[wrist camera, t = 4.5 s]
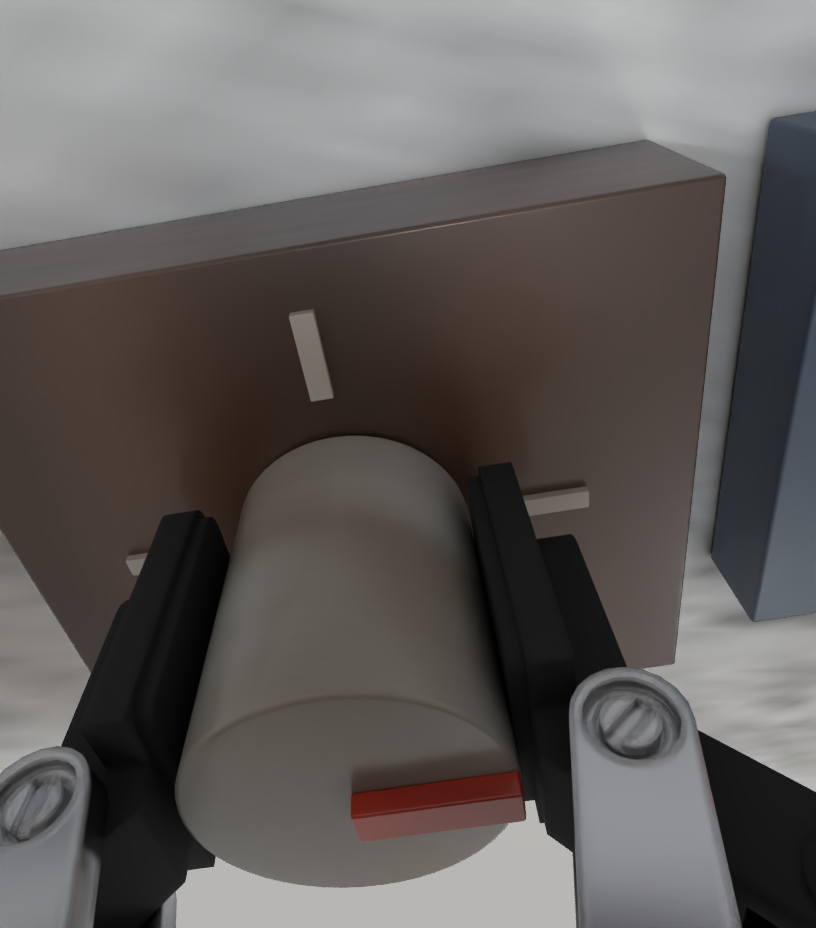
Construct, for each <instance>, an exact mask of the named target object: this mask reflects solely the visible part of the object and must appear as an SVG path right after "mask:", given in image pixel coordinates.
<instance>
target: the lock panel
mask: <svg viewBox="0 0 816 928" xmlns="http://www.w3.org/2000/svg"><path fill="white" fill-rule="evenodd" d="M725 185H726V176H725V174H723V173H721V172H719V171H716V170H714V169H712V168H710V167H708V166H705V165H703V164H701V163H699V162H696V161H694V160H692V159H690V158H688V157H685V156H683V155H681V154H679V153H676V152H674V151H672V150H670V149H668V148H665V147H663V146H661V145H659V144H656V143H654V142H652V141H650V140H644V141H638V142H632V143H626V144H620V145H614V146H609V147H603V148H597V149H591V150H585V151H579V152H573V153H568V154H562V155H556V156H550V157H544V158H538V159H533V160H527V161H521V162H515V163H509V164H503V165H497V166H492V167H486V168H480V169H474V170H468V171H462V172H457V173H451V174H445V175H439V176H433V177H427V178H421V179H416V180H410V181H404V182H398V183H392V184H386V185H381V186H375V187H369V188H363V189H357V190H351V191H345V192H340V193H334V194H328V195H322V196H316V197H310V198H305V199H299V200H293V201H287V202H281V203H275V204H269V205H264V206H258V207H252V208H246V209H240V210H234V211H228V212H223V213H217V214H211V215H205V216H199V217H193V218H188V219H182V220H176V221H170V222H164V223H158V224H152V225H147V226H141V227H135V228H129V229H123V230H117V231H112V232H106V233H100V234H94V235H88V236H82V237H76V238H71V239H65V240H59V241H53V242H47V243H41V244H36V245H30V246H24V247H18V248H12V249H6V250H0V529H1V531H2V533H3V534H4V536H5V537H6V539H7V540H8V542H9V544H10V545H11V547H12V548H13V550H14V552H15V553H16V555H17V556H18V558H19V560H20V561H21V563H22V564H23V566H24V567H25V569H26V571H27V572H28V574H29V575H30V577H31V579H32V580H33V582H34V583H35V585H36V586H37V588H38V590H39V591H40V593H41V594H42V596H43V598H44V599H45V601H46V602H47V604H48V605H49V607H50V609H51V610H52V612H53V613H54V615H55V617H56V618H57V620H58V621H59V623H60V625H61V626H62V628H63V629H64V631H65V632H66V634H67V636H68V637H69V639H70V640H71V642H72V644H73V645H74V647H75V648H76V650H77V651H78V653H79V655H80V656H81V658H82V659H83V661H84V663H85V664H86V666H87V667H88V669H89V671H90V672H91V673H92V670H93V668H94V665H95V663H96V661H97V658H98V656H99V653H100V651H101V649H102V646H103V644H104V641H105V639H106V636H107V634H108V632H109V629H110V627H111V624H112V622H113V619H114V617H115V615H116V612H117V610H118V609H119V607H120V605H121V604H122V603H124V602H125V601H126V600H129V599H130V596H131V594H132V591H133V589H134V586H135V584H136V581H137V579H138V576H139V574H140V571H141V569H142V566H143V564H144V561H145V559H146V556H147V554H148V551H149V549H150V546H151V544H152V541H153V539H154V536H155V534H156V531H157V529H158V526H159V524H160V521H161V519H162V518H163V516H165V515H169V514H175V513H182V512H188V511H195V510H199V511H201V512H202V513H203V514H204V516H205V518H206V517H214V519H215V520H216V522H217V524H218V526H219V529H220V531H221V534H222V536H223V539H224V541H225V544H226V547H227V549H228V552H229V554H230V557H231V552H232V548H233V544H234V540H235V536H236V532H237V528H238V524H239V520H240V516H241V512H242V508H243V504H244V501H245V499H246V496H247V494H248V492H249V490H250V489H251V487H252V485H253V484H254V482H255V481H256V479H257V478H258V477H259V476H260V475H261V474H262V472H263V471H264V470H265V469H266V468H268V467H269V466H270V465H271V464H272V463H273V462H275V461H276V460H277V459H279V458H280V457H282V456H283V455H285V454H287V453H288V452H290V451H292V450H294V449H296V448H298V447H300V446H302V445H305V444H308V443H311V442H314V441H317V440H322V439H326V438H331V437H339V436H371V437H379V438H384V439H388V440H392V441H396V442H399V443H402V444H404V445H407V446H410V447H412V448H414V449H416V450H418V451H420V452H421V453H423V454H425V455H426V456H428V457H429V458H431V459H432V460H434V461H435V462H436V463H438V464H439V465H440V466H441V467H442V468H443V469H444V470H445V471H446V472H447V473H448V474H449V475H450V476H451V478H452V479H453V480H454V481H455V483H456V484H457V486H458V488H459V489H460V491H461V493H462V495H463V497H464V500H465V502H466V505H467V510H468V515H469V519H470V524H471V529H472V521H471V513H470V505H469V497H468V489H467V480H466V478H467V477H473V476H478V467H480V466H487V465H494V464H500V463H507V462H511V463H512V465H513V468H514V471H515V474H516V477H517V480H518V483H519V486H520V489H521V492H522V496H523V499H524V502H525V505H526V508H527V511H528V514H529V517H530V520H531V523H532V526H533V529H534V532H535V536H536V539H540V538H547V537H554V536H561V535H567V534H572V535H573V536H574V537H575V539H576V541H577V543H578V545H579V548H580V550H581V553H582V555H583V558H584V560H585V563H586V565H587V568H588V570H589V573H590V575H591V578H592V580H593V583H594V585H595V588H596V590H597V593H598V595H599V598H600V600H601V603H602V605H603V608H604V610H605V613H606V615H607V618H608V620H609V623H610V625H611V628H612V630H613V633H614V635H615V638H616V640H617V643H618V645H619V648H620V650H621V653H622V655H623V658H624V660H625V663H626V665H627V667H628V668H635V669H642V668H650V667H657V666H664V665H671V664H674V662H675V652H676V643H677V634H678V624H679V615H680V606H681V596H682V587H683V578H684V568H685V559H686V550H687V540H688V531H689V522H690V512H691V503H692V493H693V484H694V475H695V465H696V456H697V447H698V437H699V428H700V419H701V409H702V400H703V391H704V381H705V372H706V363H707V353H708V344H709V334H710V325H711V316H712V306H713V297H714V288H715V278H716V269H717V260H718V250H719V241H720V232H721V222H722V213H723V203H724V194H725ZM472 534H473V529H472ZM473 539H474V537H473Z"/></svg>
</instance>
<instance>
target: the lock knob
mask: <svg viewBox="0 0 816 928" xmlns="http://www.w3.org/2000/svg"><path fill="white" fill-rule="evenodd" d="M522 784H523V776H522V771H521V766H520V761H519V756H518V751H517V747H516V742H515V737H514V732H513V727H512V723H511V718H510V713H509V708H508V703H507V698H506V694H505V689H504V684H503V679H502V674H501V669H500V665H499V660H498V655H497V650H496V645H495V640H494V636H493V631H492V626H491V621H490V616H489V611H488V607H487V602H486V597H485V592H484V587H483V582H482V578H481V573H480V568H479V563H478V558H477V553H476V549H475V544H474V539H473V534H472V529H471V524H470V519H469V515H468V510H467V505H466V502H465V500H464V497H463V495H462V493H461V491H460V489H459V488H458V486H457V484H456V483H455V481H454V480H453V479H452V478H451V476H450V475H449V474H448V473H447V472H446V471H445V470H444V469H443V468H442V467H441V466H440V465H439V464H438V463H436V462H435V461H434V460H432V459H431V458H429V457H428V456H426V455H425V454H423V453H421V452H420V451H418V450H416V449H414V448H412V447H410V446H407V445H404V444H402V443H399V442H396V441H392V440H388V439H384V438H379V437H371V436H339V437H331V438H326V439H322V440H317V441H314V442H311V443H308V444H305V445H302V446H300V447H298V448H296V449H294V450H292V451H290V452H288V453H287V454H285V455H283V456H282V457H280V458H279V459H277V460H276V461H275V462H273V463H272V464H271V465H270V466H269V467H268V468H266V469H265V470H264V471H263V472H262V474H261V475H260V476H259V477H258V478H257V479H256V481H255V482H254V484H253V485H252V487H251V489H250V490H249V492H248V494H247V496H246V499H245V501H244V504H243V508H242V512H241V516H240V520H239V524H238V528H237V532H236V536H235V540H234V544H233V548H232V552H231V557H230V561H229V565H228V569H227V573H226V577H225V581H224V585H223V589H222V593H221V597H220V601H219V605H218V609H217V613H216V617H215V621H214V625H213V630H212V634H211V638H210V642H209V646H208V650H207V654H206V658H205V662H204V666H203V670H202V674H201V678H200V682H199V686H198V690H197V694H196V699H195V703H194V707H193V711H192V715H191V719H190V723H189V727H188V731H187V735H186V739H185V743H184V747H183V751H182V755H181V759H180V763H179V768H178V772H177V776H176V781H175V801H176V805H177V809H178V813H179V816H180V818H181V820H182V822H183V824H184V826H185V827H186V829H187V830H188V831H189V832H190V834H191V835H192V836H193V838H194V839H195V840H196V841H198V842H199V843H200V844H201V845H202V846H203V847H204V848H205V849H207V850H208V851H209V852H211V853H212V854H214V855H215V856H216V857H218V858H220V859H222V860H224V861H225V862H227V863H229V864H231V865H233V866H235V867H237V868H240V869H242V870H245V871H247V872H250V873H253V874H256V875H259V876H262V877H265V878H269V879H273V880H277V881H282V882H287V883H293V884H299V885H307V886H317V887H341V888H342V887H365V886H375V885H384V884H389V883H396V882H401V881H406V880H410V879H414V878H418V877H422V876H425V875H428V874H431V873H435V872H437V871H440V870H442V869H445V868H447V867H450V866H452V865H454V864H457V863H459V862H460V861H463V860H465V859H467V858H468V857H470V856H472V855H473V854H475V853H477V852H478V851H480V850H481V849H483V848H484V847H485V846H486V845H488V844H489V843H490V842H492V841H493V840H494V839H495V838H496V837H497V836H498V835H499V834H500V833H501V832H502V831H503V830H504V829H505V828H506V826H507V825H508V823H512V822H519V821H524V820H526V811H525V800H524V792H523V787H522Z"/></svg>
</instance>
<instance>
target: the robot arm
mask: <svg viewBox="0 0 816 928" xmlns="http://www.w3.org/2000/svg"><path fill="white" fill-rule="evenodd" d="M466 480H467V489H468V497H469V505H470V513H471V521H472V529H473V537H474V544H475V549H476V553H477V558H478V563H479V568H480V573H481V578H482V582H483V587H484V592H485V597H486V602H487V607H488V611H489V616H490V621H491V626H492V631H493V636H494V640H495V645H496V650H497V655H498V660H499V665H500V669H501V674H502V679H503V684H504V689H505V694H506V698H507V703H508V708H509V713H510V718H511V723H512V727H513V732H514V737H515V742H516V747H517V751H518V756H519V761H520V766H521V771H522V776H523V784H522V787H523V792H524V800H525V801H530V800H535V803H536V807H537V811H538V816H539V821H540V823H545V826H546V830H547V834H548V835H549V836H551V837H552V838H554V839H555V840H556V841H558V842H559V843H560V844H562V845H563V846H565V847H566V848H568V849H569V850H570V851H572V852H573V870H574V891H575V911H576V928H816V792H814V791H812V790H811V789H809V788H807V787H805V786H803V785H801V784H799V783H797V782H795V781H793V780H792V779H790V778H788V777H786V776H784V775H782V774H780V773H778V772H776V771H774V770H773V769H771V768H769V767H767V766H765V765H763V764H761V763H759V762H757V761H755V760H754V759H752V758H750V757H748V756H746V755H744V754H742V753H740V752H738V751H736V750H735V749H733V748H731V747H729V746H727V745H725V744H723V743H721V742H719V741H717V740H716V739H714V738H712V737H710V736H708V735H706V734H704V733H702V732H700V731H698V730H697V726H696V721H695V717H694V715H693V713H692V710H691V708H690V705H689V703H688V701H687V700H686V699H685V698H684V696H683V695H682V694H681V693H680V692H679V691H678V689H677V688H676V687H674V686H673V685H672V684H670V683H669V682H667V681H666V680H664V679H663V678H662V677H660V676H658V675H655V674H652V673H650V672H647V671H645V670H642V669H635V668H628V667H627V665H626V663H625V660H624V658H623V655H622V653H621V650H620V648H619V645H618V643H617V640H616V638H615V635H614V633H613V630H612V628H611V625H610V623H609V620H608V618H607V615H606V613H605V610H604V608H603V605H602V603H601V600H600V598H599V595H598V593H597V590H596V588H595V585H594V583H593V580H592V578H591V575H590V573H589V570H588V568H587V565H586V563H585V560H584V558H583V555H582V553H581V550H580V548H579V545H578V543H577V541H576V539H575V537H574V536H573V535H572V534H567V535H561V536H554V537H547V538H540V539H536V536H535V532H534V529H533V526H532V523H531V520H530V517H529V514H528V511H527V508H526V505H525V502H524V499H523V496H522V492H521V489H520V486H519V483H518V480H517V477H516V474H515V471H514V468H513V465H512V463H511V462H507V463H500V464H494V465H487V466H480V467H478V476H473V477H467V478H466ZM229 561H230V554H229V552H228V549H227V547H226V544H225V541H224V539H223V536H222V534H221V531H220V529H219V526H218V524H217V522H216V520H215V519H214V517H206V518H205V516H204V514H203V513H202V512H201V511H199V510H195V511H188V512H182V513H175V514H169V515H165V516H163V518H162V519H161V521H160V524H159V526H158V529H157V531H156V534H155V536H154V539H153V541H152V544H151V546H150V549H149V551H148V554H147V556H146V559H145V561H144V564H143V566H142V569H141V571H140V574H139V576H138V579H137V581H136V584H135V586H134V589H133V591H132V594H131V596H130V599H129V600H126V601H125V602H124V603H122V604H121V605H120V607H119V609H118V610H117V612H116V615H115V617H114V619H113V622H112V624H111V627H110V629H109V632H108V634H107V636H106V639H105V641H104V644H103V646H102V649H101V651H100V653H99V656H98V658H97V661H96V663H95V665H94V668H93V670H92V673H91V675H90V678H89V680H88V682H87V685H86V687H85V690H84V692H83V695H82V697H81V699H80V702H79V704H78V707H77V709H76V711H75V714H74V716H73V719H72V721H71V724H70V726H69V728H68V731H67V733H66V736H65V738H64V740H63V743H62V745H61V747H60V746H56V747H51V748H45V749H40V750H38V751H36V752H33V753H31V754H29V755H26V756H24V757H22V758H21V759H19V760H18V761H16V762H15V763H13V764H12V765H10V766H9V767H7V768H6V769H5V770H4V771H3V772H1V773H0V928H176V903H177V899H176V890H177V889H178V888H179V887H180V886H181V885H182V884H183V883H184V882H185V880H186V875H187V870H192V869H199V868H207V867H214V863H215V857H216V856H215V855H214V854H212V853H211V852H209V851H208V850H207V849H205V848H204V847H203V846H202V845H201V844H200V843H199V842H198V841H196V840H195V839H194V838H193V836H192V835H191V834H190V832H189V831H188V830H187V829H186V827H185V826H184V824H183V822H182V820H181V818H180V816H179V813H178V809H177V805H176V801H175V781H176V776H177V772H178V768H179V763H180V759H181V755H182V751H183V747H184V743H185V739H186V735H187V731H188V727H189V723H190V719H191V715H192V711H193V707H194V703H195V699H196V694H197V690H198V686H199V682H200V678H201V674H202V670H203V666H204V662H205V658H206V654H207V650H208V646H209V642H210V638H211V634H212V630H213V625H214V621H215V617H216V613H217V609H218V605H219V601H220V597H221V593H222V589H223V585H224V581H225V577H226V573H227V569H228V565H229Z"/></svg>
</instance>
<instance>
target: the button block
mask: <svg viewBox="0 0 816 928" xmlns="http://www.w3.org/2000/svg"><path fill="white" fill-rule="evenodd" d="M711 558H712V560H713V561H714V563H715V565H716V566H717V568H718V569H719V571H720V572H721V574H722V576H723V577H724V579H725V580H726V582H727V583H728V585H729V587H730V588H731V590H732V591H733V593H734V594H735V596H736V598H737V599H738V601H739V602H740V604H741V605H742V607H743V609H744V610H745V612H746V613H747V615H748V616H749V618H750V620H751V621H753V622H757V621H764V620H771V619H778V618H785V617H792V616H799V615H806V614H813V613H816V111H814V112H809V113H803V114H797V115H791V116H785V117H779V118H775V119H773V120H771V122H770V127H769V134H768V142H767V149H766V157H765V164H764V171H763V179H762V186H761V194H760V201H759V208H758V216H757V223H756V231H755V238H754V245H753V253H752V260H751V268H750V275H749V282H748V290H747V297H746V304H745V312H744V319H743V327H742V334H741V341H740V349H739V356H738V364H737V371H736V378H735V386H734V393H733V401H732V408H731V415H730V423H729V430H728V438H727V445H726V452H725V460H724V467H723V475H722V482H721V489H720V497H719V504H718V512H717V519H716V526H715V534H714V541H713V549H712V556H711Z"/></svg>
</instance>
